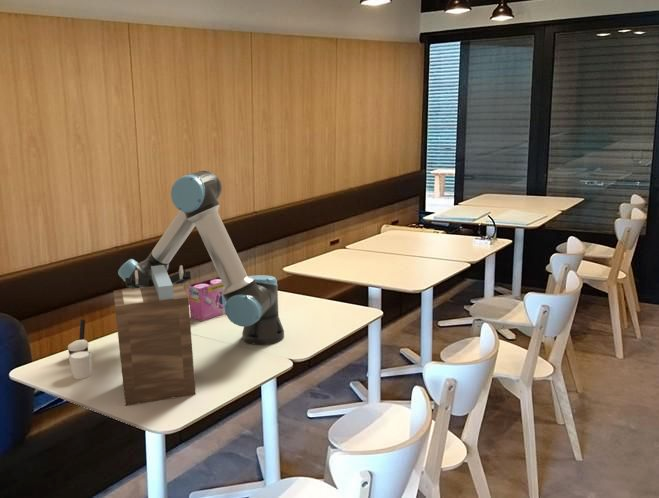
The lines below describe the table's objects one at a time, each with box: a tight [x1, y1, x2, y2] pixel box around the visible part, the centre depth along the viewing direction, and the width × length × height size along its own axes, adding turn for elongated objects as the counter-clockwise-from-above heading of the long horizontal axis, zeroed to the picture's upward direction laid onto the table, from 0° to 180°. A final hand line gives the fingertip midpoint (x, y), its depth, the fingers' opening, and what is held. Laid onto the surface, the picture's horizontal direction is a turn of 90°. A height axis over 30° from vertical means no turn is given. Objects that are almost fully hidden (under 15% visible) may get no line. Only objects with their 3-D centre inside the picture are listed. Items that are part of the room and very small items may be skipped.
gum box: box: [187, 275, 226, 322], centre depth 267 cm, size 24×8×14 cm, turn 139°
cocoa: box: [67, 319, 89, 355], centre depth 223 cm, size 10×6×12 cm, turn 148°
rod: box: [151, 265, 174, 300], centre depth 197 cm, size 25×4×4 cm, turn 19°
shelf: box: [113, 283, 197, 407], centre depth 195 cm, size 16×20×30 cm
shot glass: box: [68, 350, 93, 380], centre depth 209 cm, size 7×7×7 cm
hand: (159, 271), depth 202 cm, fingers open, 13 cm apart
